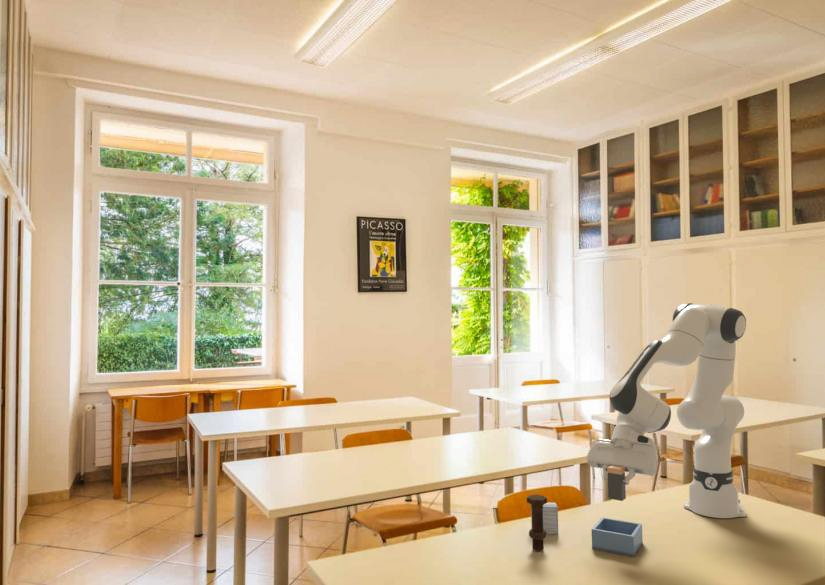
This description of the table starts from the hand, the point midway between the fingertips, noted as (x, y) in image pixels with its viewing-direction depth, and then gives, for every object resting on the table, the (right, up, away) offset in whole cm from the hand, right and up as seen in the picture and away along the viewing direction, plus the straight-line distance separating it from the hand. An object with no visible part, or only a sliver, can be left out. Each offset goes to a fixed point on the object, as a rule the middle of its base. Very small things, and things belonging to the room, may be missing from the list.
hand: (615, 482), depth 172 cm
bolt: (-23, -19, -2) cm, 30 cm away
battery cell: (0, -5, 0) cm, 5 cm away
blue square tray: (+1, -19, 0) cm, 19 cm away
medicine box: (-18, -20, +12) cm, 29 cm away
